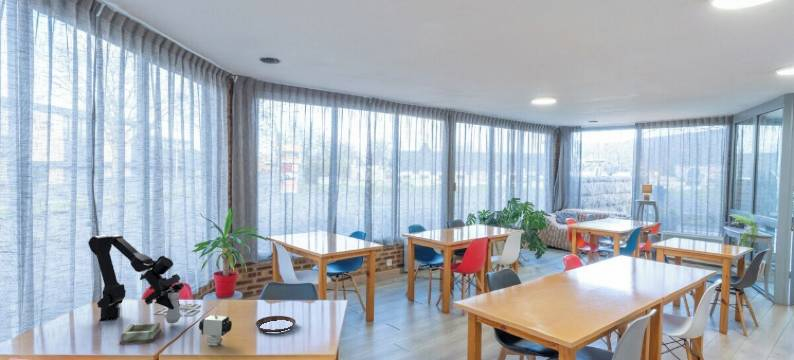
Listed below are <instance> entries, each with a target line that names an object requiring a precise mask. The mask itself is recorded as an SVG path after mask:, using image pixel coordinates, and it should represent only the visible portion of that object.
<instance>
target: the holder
mask: <svg viewBox="0 0 794 360" xmlns="http://www.w3.org/2000/svg"><path fill="white" fill-rule="evenodd" d="M161 331H162V328H160V322H148V323H147V322H146V323H145V322H143V323H142V322H141V323H130V324H129V325H128V326H127V327H126V328H125V330H123V332H122V333H121V337H120V338H121V339H120V341H119V343H118V345H128V344H142V343H144V344H145V343H154V342H155V341H156V339H157V338H158V336H159V335H160V333H161Z"/></svg>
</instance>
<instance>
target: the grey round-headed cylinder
mask: <svg viewBox="0 0 794 360" xmlns="http://www.w3.org/2000/svg"><path fill="white" fill-rule="evenodd" d="M179 298H180V292H178V293H171V294H169V299H170V302H171V303H172V305H173V307H174V309H173V310H172V309H169V308H168V310H167V312H166V313H167V314H166V313H165V314H166V317H165V319H166V322H167V323H168V324H176V323H177V322H179V320H180V318H181V316H180V313H181V312H180V311H181V310H179V304H180V303H179V304H178V300H179Z"/></svg>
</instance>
